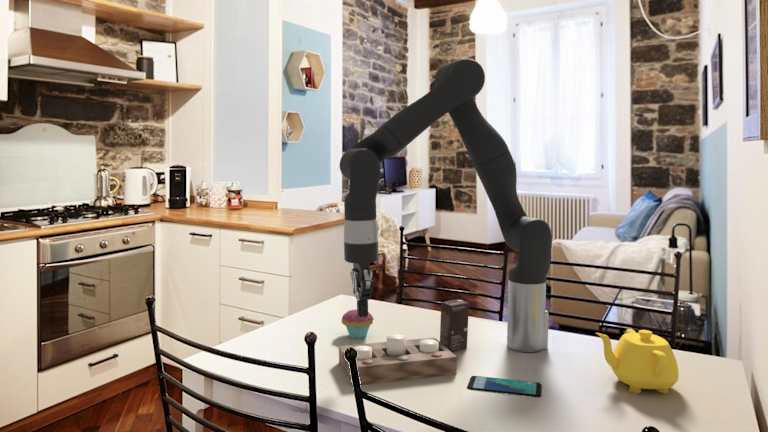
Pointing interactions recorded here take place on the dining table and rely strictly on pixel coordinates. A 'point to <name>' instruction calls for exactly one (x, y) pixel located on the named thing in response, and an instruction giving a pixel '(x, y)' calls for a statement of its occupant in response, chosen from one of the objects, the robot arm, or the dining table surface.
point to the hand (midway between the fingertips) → (362, 316)
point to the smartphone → (505, 386)
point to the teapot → (642, 361)
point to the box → (454, 324)
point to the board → (401, 363)
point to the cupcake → (357, 324)
